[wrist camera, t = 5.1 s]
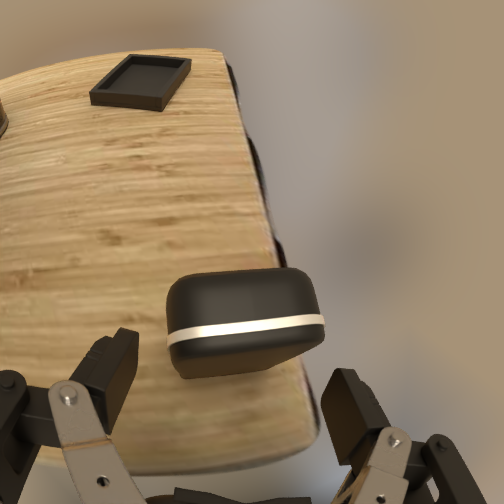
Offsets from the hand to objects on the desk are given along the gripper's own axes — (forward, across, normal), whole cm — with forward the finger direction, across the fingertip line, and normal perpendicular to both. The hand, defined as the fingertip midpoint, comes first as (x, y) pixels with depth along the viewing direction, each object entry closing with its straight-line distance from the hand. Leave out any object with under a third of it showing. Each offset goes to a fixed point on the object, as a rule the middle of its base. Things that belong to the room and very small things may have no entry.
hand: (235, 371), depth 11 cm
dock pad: (+32, +18, -17) cm, 40 cm away
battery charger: (+9, 0, +6) cm, 11 cm away
